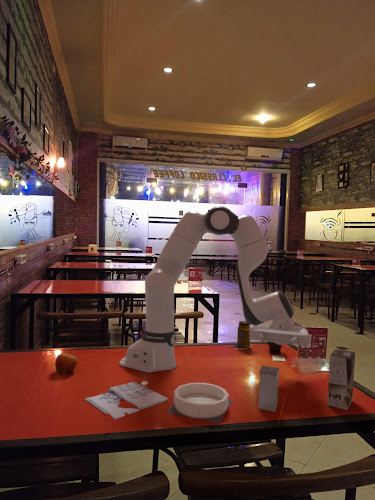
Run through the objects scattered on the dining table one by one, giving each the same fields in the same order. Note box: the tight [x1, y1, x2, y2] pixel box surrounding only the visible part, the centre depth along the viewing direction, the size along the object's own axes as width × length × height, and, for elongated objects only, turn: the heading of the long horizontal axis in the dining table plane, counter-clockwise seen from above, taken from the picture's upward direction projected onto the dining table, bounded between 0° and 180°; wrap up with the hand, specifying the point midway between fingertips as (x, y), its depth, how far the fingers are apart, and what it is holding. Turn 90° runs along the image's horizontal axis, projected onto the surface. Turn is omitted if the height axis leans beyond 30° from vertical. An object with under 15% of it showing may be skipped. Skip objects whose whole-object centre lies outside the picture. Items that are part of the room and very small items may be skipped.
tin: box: [258, 365, 280, 412], centre depth 119 cm, size 5×5×12 cm
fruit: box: [54, 352, 79, 376], centre depth 143 cm, size 8×8×8 cm
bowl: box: [173, 382, 230, 420], centre depth 118 cm, size 16×16×4 cm
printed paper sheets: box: [84, 381, 169, 420], centre depth 121 cm, size 19×20×2 cm
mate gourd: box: [266, 341, 283, 355], centre depth 178 cm, size 8×8×15 cm
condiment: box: [230, 320, 252, 351], centre depth 183 cm, size 7×8×12 cm
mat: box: [166, 399, 233, 424], centre depth 118 cm, size 16×16×1 cm
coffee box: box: [326, 348, 356, 411], centre depth 125 cm, size 9×6×16 cm
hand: (276, 341), depth 130 cm, fingers open, 8 cm apart
